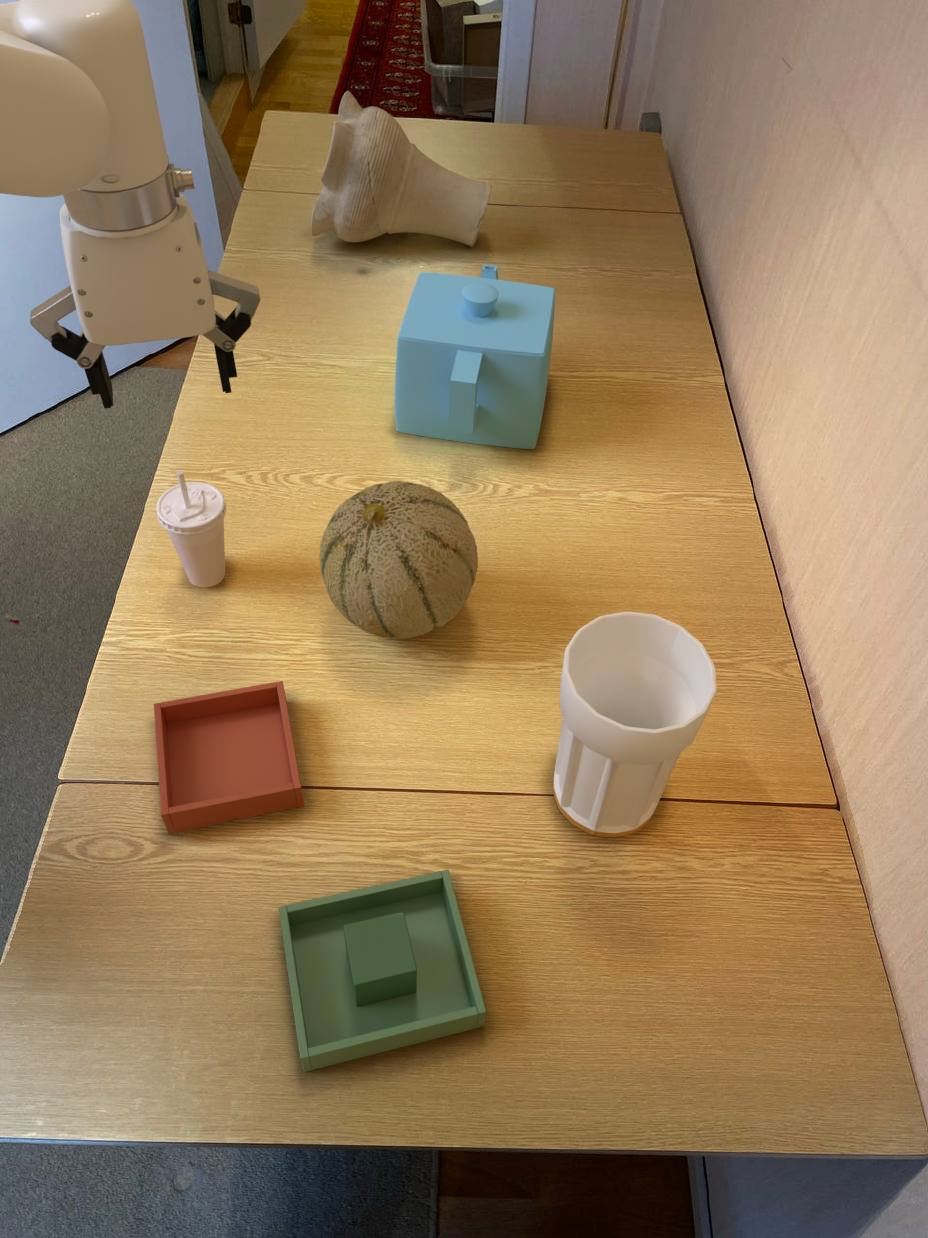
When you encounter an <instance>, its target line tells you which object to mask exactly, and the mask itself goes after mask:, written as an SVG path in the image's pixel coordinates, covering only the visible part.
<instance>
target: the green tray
mask: <svg viewBox="0 0 928 1238" xmlns="http://www.w3.org/2000/svg"><path fill="white" fill-rule="evenodd" d="M399 912H404V915H405V920H406V924H407V928H408V933H409V937H410V941H411V946H412V950H413V954H414V959H415V963H416V967H417V992H416V993H413V994H409V995H405V996H401V997H397V998H392V999H388V1000H384V1001H380V1002H376V1003H372V1004H368V1005H364V1006H360V1007H357V1006H356V1001H355V995H354V990H353V984H352V979H351V974H350V968H349V963H348V958H347V952H346V945H345V938H344V930H343V925H346V924H351V923H355V922H359V921H364V920H368V919H373V918H377V917H381V916H386V915H390V914H395V913H399ZM278 914H279V922H280V929H281V934H282V942H283V950H284V956H285V962H286V970H287V976H288V983H289V990H290V996H291V1005H292V1010H293V1012H292V1013H293V1018H294V1023H295V1032H296V1038H297V1039H296V1040H297V1045H298V1053H299V1059H300V1063H301V1067H302V1071H303V1072H304V1073H307V1072H311V1071H314V1070H319V1069H322V1068H326V1067H329V1066H334V1065H337V1064H338V1065H339V1064H341V1063H345V1062H349V1061H353V1060H357V1059H361V1058H365V1057H368V1056H372V1055H377V1054H381V1053H384V1052H389V1051H392V1050H396V1049H400V1048H405V1047H407V1046H411V1045H412V1046H413V1045H416V1044H420V1043H424V1042H428V1041H431V1040H436V1039H440V1038H444V1037H447V1036H451V1035H456V1034H459V1033H463V1032H467V1031H471V1030H474V1029H479V1028H482V1027H485V1023H486V1017H487V1008H486V1003H485V1001H484V997H483V993H482V990H481V986H480V983H479V977H478V973H477V971H476V967H475V963H474V959H473V956H472V952H471V949H470V945H469V941H468V937H467V934H466V930H465V926H464V922H463V919H462V915H461V911H460V907H459V903H458V900H457V896H456V891H455V888H454V884H453V881H452V877H451V874H450V870H449V869H445V870H444V869H443V870H441V871H440V870H439V871H434V872H429V873H426V874H421V875H416V876H413V877H408V878H403V879H399V880H394V881H390V882H385V883H381V884H377V885H372V886H368V887H367V886H366V887H363V888H357V889H354V890H349V891H344V892H341V893H340V892H339V893H335V894H332V895H326V896H322V897H317V898H313V899H309V900H304V901H300V902H295V903H291V904H286V905H282V906H278Z"/></svg>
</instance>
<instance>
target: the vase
mask: <svg viewBox="0 0 928 1238" xmlns="http://www.w3.org/2000/svg"><path fill="white" fill-rule="evenodd" d="M399 123H400V122H398V121H397V120H396V118H394V117H393V115H391V114H390V113H388V112H387V111H386V110H385V109H383V108H380V107H378V106H373V105H372V106H367V107H361V104H359V102H358V100H357V99H356V97H354V95H353V93H352V92H351V91H350V90H346V91H345V92H344V94H343V95H342V97H341V100H340V103H339V107H338V114H337V120H334V121H333V127H332V134H331V140H330V145H329V150H328V152H327V153H328V154H327V156H326V157H327V158H326V161H325V164H324V166H323V170H322V172H321V176H320V181H321V182H322V185H323V186H322V190H321V192H320V193H319V195H318V197H317V199H316V201H315V202H314V205H313V207H312V211H311V218H310V234H311V237H316V236H321V235H323V234H325V233H327V232H330V231H332V232H333V234H334V235H335V236H336V237H337V238H338V239H340V240H341V241H344V242H348V243H362V242H366V241H370V240H372V239H376V238H378V237H381V236H382V235H385V234H389V235H392V234H399V233H415V234H416V233H417V234H426V235H431V236H436V237H441V238H444V239H447V240H452V241H455V242H457V243H461V244H464V245H466V246H469V247H470V248H473V247H474V246H475V244H476V241H477V239H478V236H479V233H480V230H481V228H482V224H483V222H484V218H485V215H486V212H487V209H488V205H489V201H490V197H491V193H492V184H491V183H488V182H487V183H486V182H483V181H482V182H481V181H478V180H475V179H472V178H469V177H467V176H464V175H462V174H459V173H457V172H455V171H452V170H450V169H448V168H446V167H444V166H442V165H441V164H440V163H438V162H436V161H434V160H433V159H432V158H430V157H429V156H428V155H426V154H425V153H423V151H421V149H419V148H418V147H417V145H416V144H415V143H412V142H411V141H410V139H409V138H408V135H407V134H406V132H405V131H404V128H402V126H401V125H400V124H399Z"/></svg>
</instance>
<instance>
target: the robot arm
mask: <svg viewBox="0 0 928 1238" xmlns="http://www.w3.org/2000/svg"><path fill="white" fill-rule="evenodd" d="M150 65H151V64H150V60H149V55H148V51H147V46H146V41H145V35H144V31H143V26H142V23H141V18H140V16H139V13H138V11H137V9H136V7H135V5H134V3H133V2H132V1H131V0H18V1H17V0H16V1H11V2H4V3H0V194H3V195H12V196H18V197H19V196H21V197H29V198H30V197H31V198H56V197H60V196H63V200H64V204H63V205H62V206H61V207H60V209H59V225H60V228H59V229H60V235H61V243H62V248H63V253H64V260H65V266H66V270H67V276H68V279H69V284H70V285H68V286H67V287H65V288H64V289H62V290H60V291H59V292H57V293H55V294H54V295H53V296H51V297H50V298H48V299H46V300H45V301H43V302H42V303H40V304H39V305H37V306H35V307H34V308H33V309H31V310H30V317H29V318H30V319H29V323H30V326H31V327H32V328H34V329H35V331H37V333H39V334H40V335H41V336H42V337H43V338H44V339H45V340H47V341H48V342H49V343H51V347H52V348H53V350H56V351H57V352H59V353H61V354H62V355H65V357H68V358H70V359H72V360H73V361H76V365H77V366H78V367H80V368H81V369H83V371H84V372H85V375H86V379H87V382H88V386H89V389H90V392H91V394H92V395H93V396H95V395H99V396H100V399H101V402H102V406H103V409H111V408H112V407H114V389H113V388H114V387H113V383H112V379H111V376H110V373H109V370H108V367H107V366H108V365H107V363H106V359H105V356H104V353H103V350H104V349H105V347H112V346H123V345H132V344H142V343H150V342H157V341H159V342H160V341H168V340H175V339H184V338H190V337H197V336H203V337H204V338H206V339H207V340H208V341H210V342H211V343H212V344H213V345H214V346H213V347H214V353H215V359H216V365H217V368H218V374H219V378H220V379H219V380H220V385H221V389H222V392H223V393H225V394H232V393H233V392H232V387H231V379H232V378H238V372H237V367H236V361H235V355H234V350H235V349H236V346H237V345H236V344H237V342H238V341H239V340H240V339H241V338H242V337H243V335H245V333H246V332H247V331H248V330H249V329H250V328H251V326H252V319H253V318H254V317H255V315H256V312H257V309H258V307H259V304H260V302H261V295H260V290H259V288H258V287H257V286H256V285H254V284H251V283H248V282H245V281H242V280H239V279H236V278H233V277H230V276H228V275H225V274H221V273H218V272H215V271H212V270H209V266H208V261H207V258H206V254H205V250H204V246H203V241H202V237H201V235H200V232H199V228H198V225H197V222H196V219H195V217H194V214H193V211H192V208H191V206H190V203H189V202H188V199H187V198H186V196H185V195H184V194H183V193H185V191H187V190H195V189H196V187H195V182H194V177H193V171H192V168H187V169H181V167H175V164H174V163H170V159H169V156H168V155H169V154H168V152H167V147H166V142H165V138H164V137H165V136H164V132H163V131H164V130H163V127H162V121H161V115H160V110H159V106H158V101H157V96H156V91H155V86H154V80H153V76H152V70H151V66H150ZM214 296H217V297H220V298H223V299H227V300H229V301H233V302H235V303H237V305H236V307H235V308H233V310H232V311H231V313H230V314H228V316H227V317H224V316H223V315H222V314H221V313H219V312H218V311H217V310H216V307H215V300H214V299H215V298H214ZM74 311H76V314H77V316H78V320H79V324H80V327H81V330H82V331H81V332H80V334H76V333H75V332H74V331H72V330H69V329H68V328H66V327H65V326H62V325H61V324H60V323H59V321H60V320H62V319H63V318H65V317H66V316H68V315H70V314H71V313H73V312H74Z"/></svg>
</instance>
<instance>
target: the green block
mask: <svg viewBox="0 0 928 1238" xmlns="http://www.w3.org/2000/svg"><path fill="white" fill-rule="evenodd" d="M343 930H344V938H345V945H346V952H347V958H348V963H349V968H350V974H351V979H352V984H353V990H354V995H355V1001H356V1006H357V1007H360V1006H364V1005H368V1004H372V1003H376V1002H380V1001H384V1000H388V999H392V998H397V997H401V996H405V995H409V994H413V993H416V992H417V967H416V963H415V959H414V954H413V950H412V946H411V941H410V937H409V933H408V928H407V924H406V920H405V915H404V912H399V913H395V914H390V915H386V916H381V917H377V918H373V919H368V920H364V921H359V922H355V923H351V924H346V925H343Z"/></svg>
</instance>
